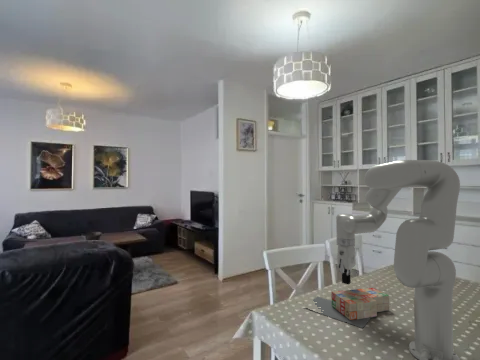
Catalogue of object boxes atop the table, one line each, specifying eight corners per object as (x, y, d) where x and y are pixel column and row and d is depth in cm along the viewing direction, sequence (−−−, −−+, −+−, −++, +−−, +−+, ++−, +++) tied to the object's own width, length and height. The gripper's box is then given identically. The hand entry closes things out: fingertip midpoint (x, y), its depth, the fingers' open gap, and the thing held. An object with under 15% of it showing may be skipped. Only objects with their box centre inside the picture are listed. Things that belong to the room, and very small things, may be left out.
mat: (362, 328, 96) (362, 327, 96) (303, 308, 112) (303, 307, 112) (373, 313, 106) (373, 313, 106) (317, 297, 122) (317, 296, 122)
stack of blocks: (373, 287, 118) (395, 298, 106) (373, 301, 118) (395, 314, 106) (331, 291, 112) (350, 303, 100) (331, 306, 112) (350, 320, 100)
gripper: (348, 246, 109) (348, 290, 109) (359, 240, 120) (360, 280, 120) (330, 243, 114) (331, 286, 114) (343, 238, 125) (344, 276, 125)
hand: (346, 283), depth 117 cm, fingers closed
